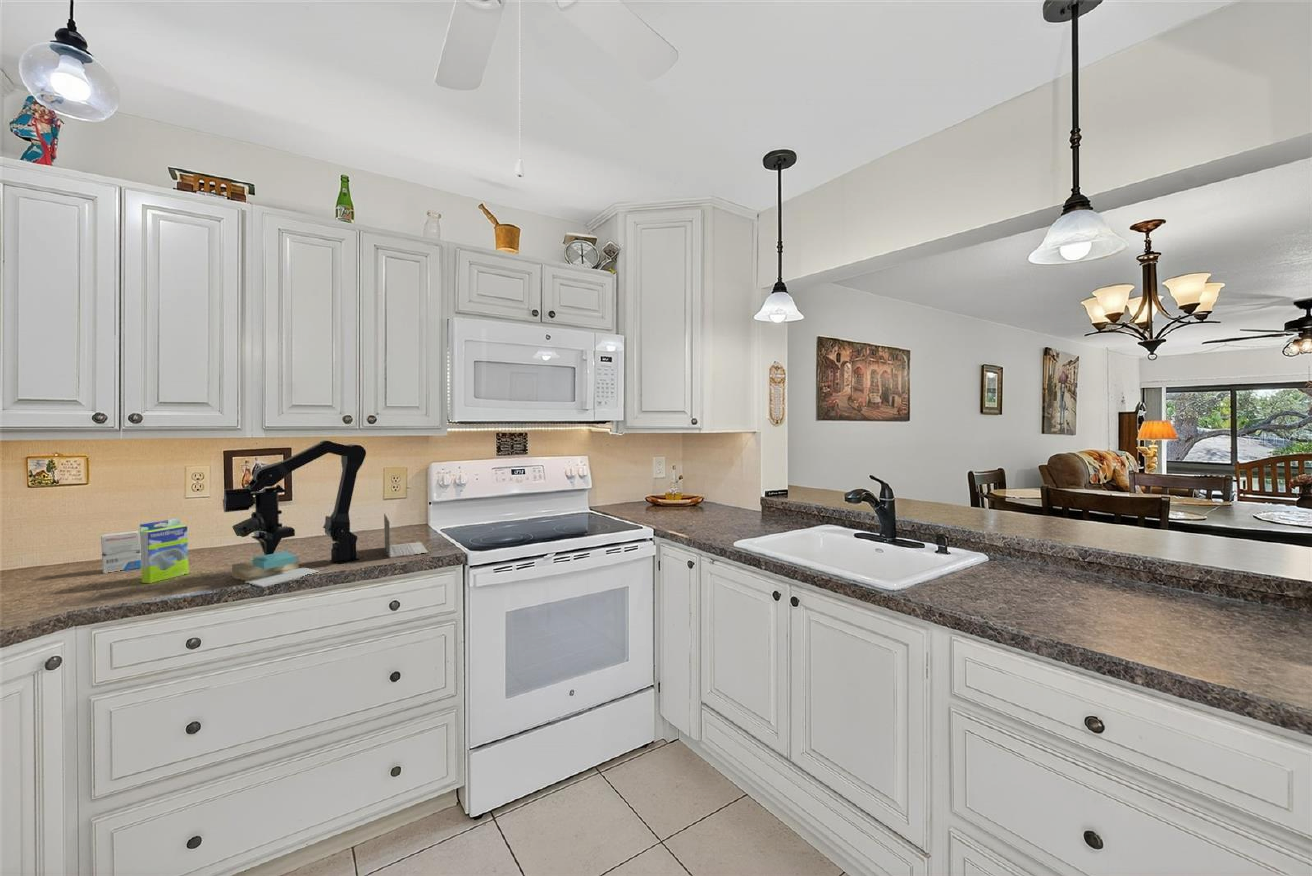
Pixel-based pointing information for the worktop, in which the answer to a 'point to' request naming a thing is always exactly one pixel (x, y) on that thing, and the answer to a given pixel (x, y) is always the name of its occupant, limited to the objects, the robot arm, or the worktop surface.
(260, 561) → the teal rectangular block
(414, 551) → the laptop
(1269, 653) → the worktop surface
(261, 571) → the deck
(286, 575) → the mat
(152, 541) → the box
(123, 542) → the ink box
